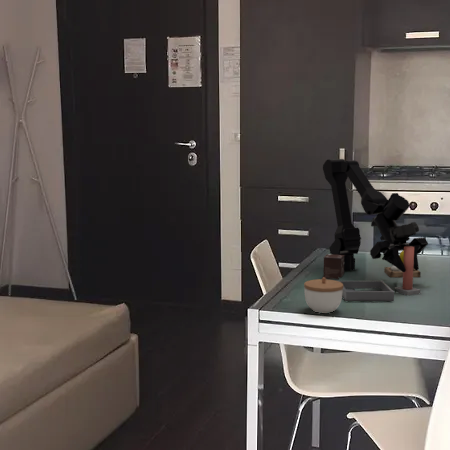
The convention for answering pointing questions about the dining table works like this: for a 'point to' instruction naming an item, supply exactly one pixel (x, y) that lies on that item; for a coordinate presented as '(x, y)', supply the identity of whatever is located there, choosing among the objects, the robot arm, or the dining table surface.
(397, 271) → the grey sphere
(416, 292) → the red post on base
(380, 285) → the bin
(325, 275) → the box
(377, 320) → the dining table surface
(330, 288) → the lidded jar
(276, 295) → the dining table surface
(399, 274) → the pebble tray
